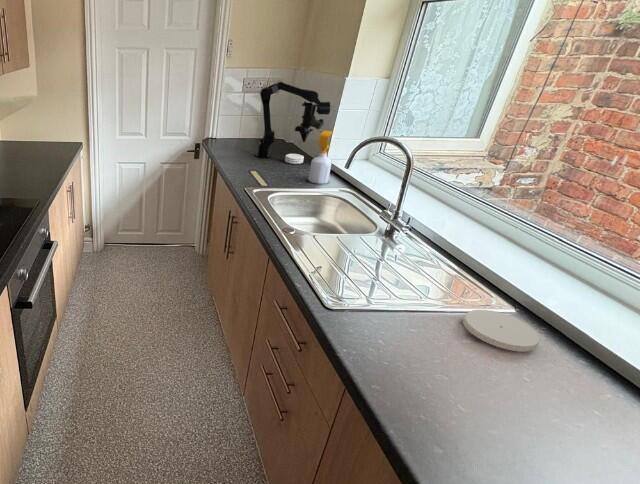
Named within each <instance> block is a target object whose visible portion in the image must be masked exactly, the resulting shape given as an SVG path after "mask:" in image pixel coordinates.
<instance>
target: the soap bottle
mask: <svg viewBox="0 0 640 484" xmlns="http://www.w3.org/2000/svg"><path fill="white" fill-rule="evenodd" d="M332 134H334V133H333V131H332V130H323V131H322V132H321V133H320V135H319V140H318V146H317V147H318V148H319V147H320V149H321V150H320V151H319V153H318V156H315V157H313V158H312V159H311V163H310V168H309V174H308V177H307V178H308V182H309V183H312V184H317V185H323V184H327V183H328V182H329V178H330V173H331V168H332V164H333V163H332V160H331V159H330V158H329V157H328V156H327V155H328V151H327V150H328V148H330V147H331V145H330V144H329V140H330V137H331V135H332Z"/></svg>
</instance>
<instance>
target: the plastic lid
mask: <svg viewBox="0 0 640 484" xmlns="http://www.w3.org/2000/svg"><path fill="white" fill-rule="evenodd" d="M462 323H463V326H464V328H465V329H466V330H467V331H468V332H469V333H470V334H471V335H472V336H475V337H476V338H477V339H479V340H481V341H483V342H484V343H485V342H486V343H487V344H489V345H492V346H494V347H497V348H499V349H504V350H508V351H510V352H511V351H514V352H520V353H521V352H522V353H523V352H531V351H534V350H536V349H537V348H538V346H539V344H540V342H541V336H540V334H539V333H538V331H536V329H534V328H533V327H532V326H530V325H529V324H528V323H526V322H525V321H522V320H521V319H519V318H516V317H513V316H512V315H510V314H506V313H503V312H500V311H495V310H489V309H472V310H469V311H467V312H466V313H465V315H464V317H463V320H462Z"/></svg>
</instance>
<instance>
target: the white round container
mask: <svg viewBox="0 0 640 484" xmlns="http://www.w3.org/2000/svg"><path fill="white" fill-rule="evenodd" d="M304 159H305V157H304V155H302V154H299V153H288V154H285V157H284V162H285V163H286V164H291V165H301V164H303V163H304Z"/></svg>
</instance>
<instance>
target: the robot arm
mask: <svg viewBox="0 0 640 484" xmlns="http://www.w3.org/2000/svg"><path fill="white" fill-rule="evenodd" d="M279 91H283V92H287V93H289V94H292V95H296V96H299V97H301V98H302V99H304V101H303V102H302V103H301V104H300V106H302V107H304V108H303V115H301V119H302V120H301V123H300V124H299V125H297V126H295V128H294V132H299V134H300V137H301V140H302V142H303V143H306V141H307V139H308V137H309V135H310V133H311V132H313V131H314V129H316V130H321V129H322V127H323V126H324V125H325V121H324V119H323V118H320V119H316V115H327V116H328V115H329V114H330V112H331V101H321V100H320V99H319V93H318V92H317V91H315V90H313V89H305V88H300V87H297V86H295V85H291V84H288V83H287V82H286V83H285V82H283V81H281V80H280V81H277V82H276V83H273V84H271V85H269V86H263V87H261V89H260V90H259V97H260V101H261V104H262V118H263V133H262V138H260V139H259V140H258V144H259V145H258V151H257V153H256V154H255V157H257V158H259V159H263V158H270V157H271V156H270V155H269V149H270V146H271V145H272V144H274V142H275V139H276V137H275V133H276V132H275V130H274V129H272V123H271V122H272V121H271V107H270V106H271V105H270V103H271V97H272V95H274V94H275V93H278V92H279ZM313 103H314V104H313ZM315 113H316V115H315ZM313 128H314V129H313Z"/></svg>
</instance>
